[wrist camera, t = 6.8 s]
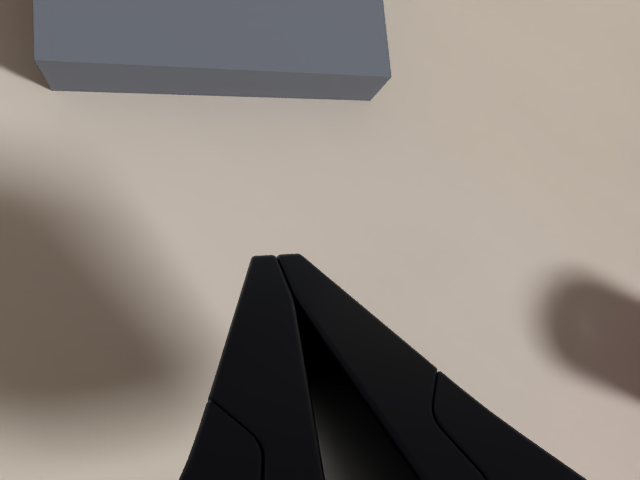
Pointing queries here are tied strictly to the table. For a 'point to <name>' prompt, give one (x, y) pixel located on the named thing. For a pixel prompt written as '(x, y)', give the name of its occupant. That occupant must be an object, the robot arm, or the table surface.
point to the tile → (214, 47)
